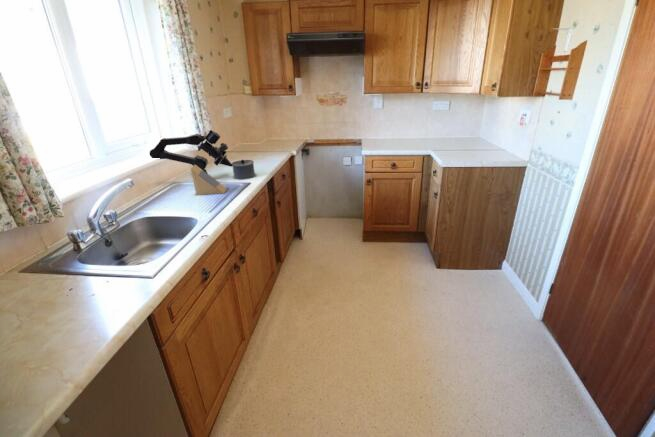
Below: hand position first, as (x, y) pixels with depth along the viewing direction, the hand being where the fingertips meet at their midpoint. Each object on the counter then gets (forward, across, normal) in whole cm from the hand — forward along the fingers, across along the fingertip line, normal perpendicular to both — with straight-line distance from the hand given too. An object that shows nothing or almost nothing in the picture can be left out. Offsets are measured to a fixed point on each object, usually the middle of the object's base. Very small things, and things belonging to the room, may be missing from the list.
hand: (232, 165), depth 203 cm
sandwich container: (-1, -26, +12) cm, 29 cm away
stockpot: (+10, 0, 0) cm, 10 cm away
